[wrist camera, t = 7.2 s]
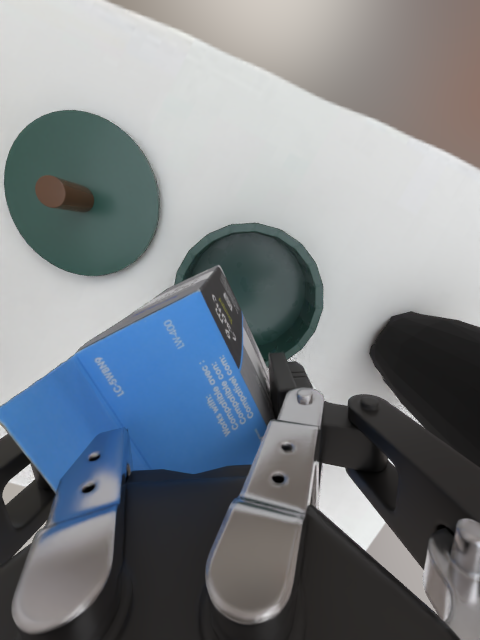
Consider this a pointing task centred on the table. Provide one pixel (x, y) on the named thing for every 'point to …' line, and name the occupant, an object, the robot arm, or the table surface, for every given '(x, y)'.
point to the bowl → (264, 282)
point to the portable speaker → (435, 375)
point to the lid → (81, 193)
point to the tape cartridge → (154, 388)
